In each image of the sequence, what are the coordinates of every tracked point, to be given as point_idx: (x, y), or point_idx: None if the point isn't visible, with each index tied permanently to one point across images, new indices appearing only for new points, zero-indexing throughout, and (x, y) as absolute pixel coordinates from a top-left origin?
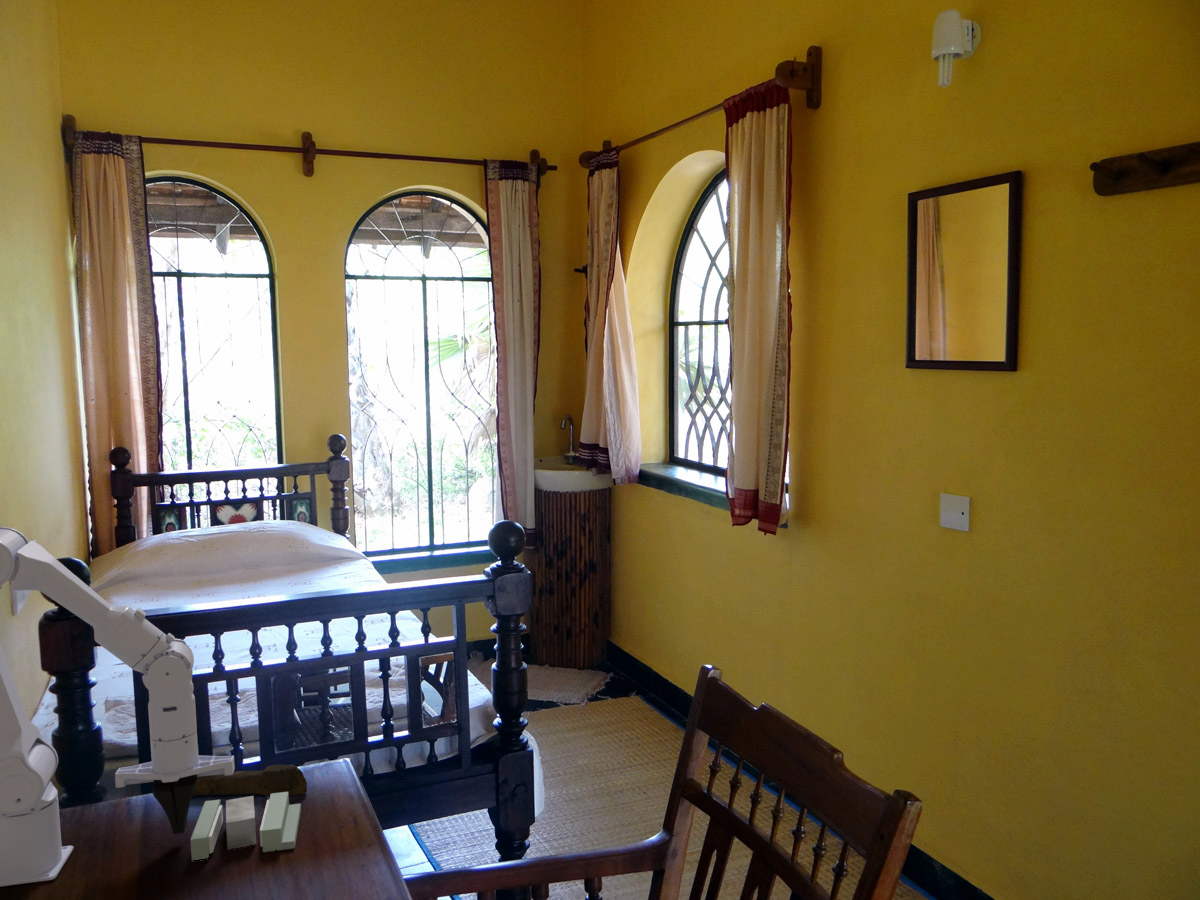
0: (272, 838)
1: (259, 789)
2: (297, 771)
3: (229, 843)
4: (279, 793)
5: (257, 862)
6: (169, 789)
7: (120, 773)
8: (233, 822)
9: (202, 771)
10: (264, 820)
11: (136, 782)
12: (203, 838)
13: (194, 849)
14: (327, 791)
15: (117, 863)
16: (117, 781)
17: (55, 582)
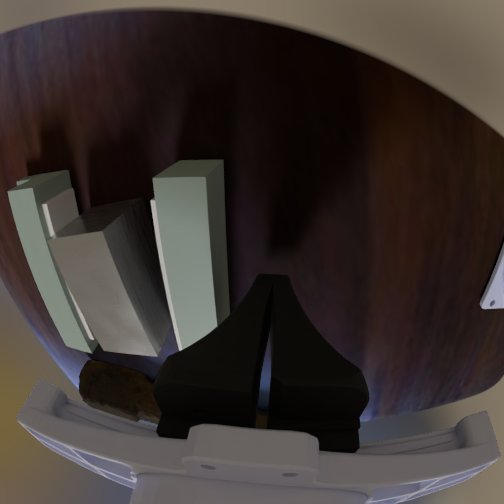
0: (33, 181)
1: (150, 389)
2: (80, 391)
3: (130, 205)
4: (77, 347)
5: (69, 126)
6: (280, 393)
7: (487, 463)
8: (87, 231)
9: (94, 432)
10: (46, 241)
11: (422, 438)
12: (164, 178)
13: (204, 167)
14: (65, 350)
15: (418, 217)
16: (489, 432)
17: None
